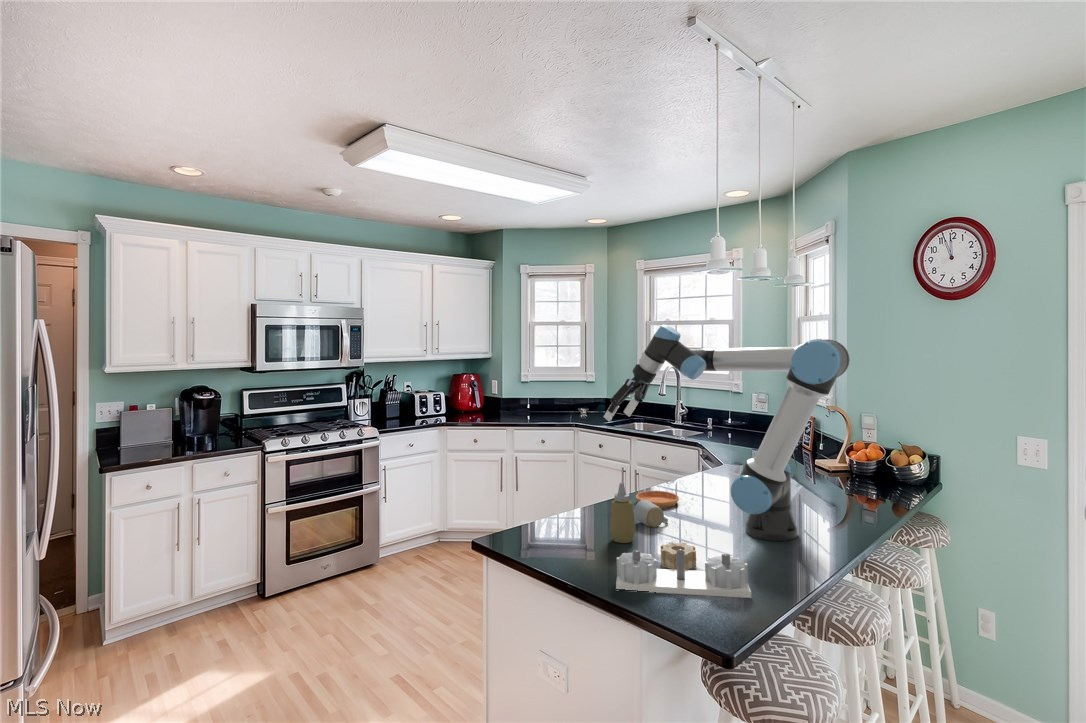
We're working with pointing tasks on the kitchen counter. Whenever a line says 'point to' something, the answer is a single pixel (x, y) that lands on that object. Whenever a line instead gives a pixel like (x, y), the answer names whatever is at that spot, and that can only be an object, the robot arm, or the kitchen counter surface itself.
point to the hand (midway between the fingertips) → (616, 416)
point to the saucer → (658, 498)
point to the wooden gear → (670, 555)
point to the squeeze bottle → (622, 517)
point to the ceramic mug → (649, 514)
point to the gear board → (685, 585)
